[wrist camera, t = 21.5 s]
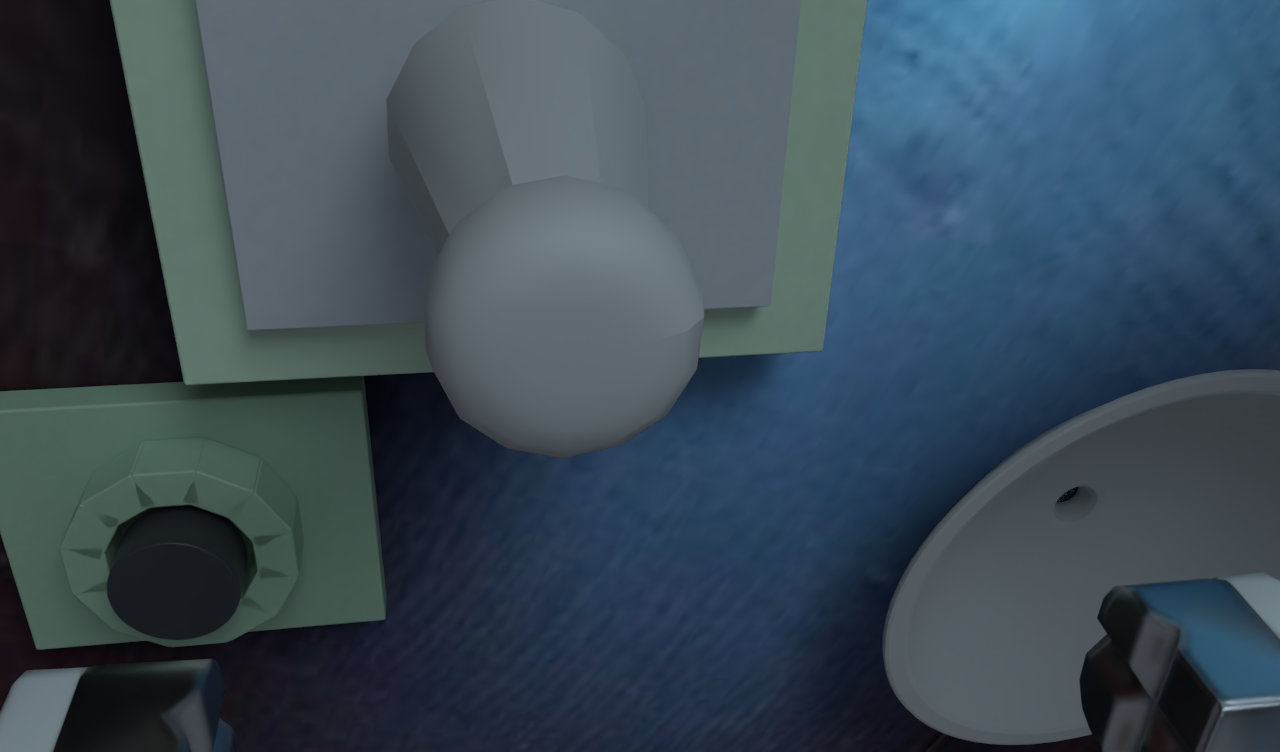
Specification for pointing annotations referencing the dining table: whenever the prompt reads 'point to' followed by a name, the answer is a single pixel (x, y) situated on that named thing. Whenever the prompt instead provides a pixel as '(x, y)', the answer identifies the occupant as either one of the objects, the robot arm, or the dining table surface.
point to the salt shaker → (541, 231)
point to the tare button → (178, 573)
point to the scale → (382, 212)
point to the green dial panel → (192, 498)
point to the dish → (1081, 550)
